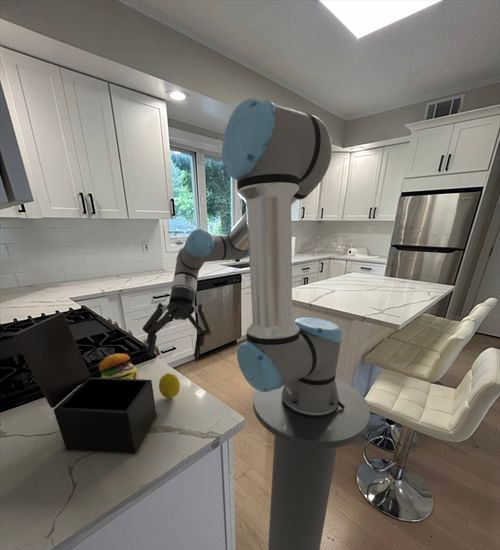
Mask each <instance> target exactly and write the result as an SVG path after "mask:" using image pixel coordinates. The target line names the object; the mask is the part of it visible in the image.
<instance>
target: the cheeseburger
mask: <svg viewBox="0 0 500 550" xmlns="http://www.w3.org/2000/svg"><path fill="white" fill-rule="evenodd" d="M130 359H131V357H130V356H129V355H128V354H127V353H113V354H110V355H107V356H105V357H104V358H102V360H101V361H100V362H99V363H98V371H99V372H100V375H101V378H117V379H137V373H138V369H137V367H136V366H135V365H134V364H132V361H129V360H130Z"/></svg>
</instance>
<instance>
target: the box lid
mask: <svg viewBox="0 0 500 550" xmlns="http://www.w3.org/2000/svg"><path fill="white" fill-rule="evenodd" d="M12 337H13V339H14V341H15V343H16V345H17V347H18V349H19V350H20V353H21V354H22V356H23V358H24V360H25V362H26V363H27V366H28V367H29V369H30V371H31V373H32V375H33V377H34V379H35V381H36V383H37V385H38V387H39V388H40V390H41V393H42V394H43V396H44V398H45V400H46V401H47V403H48V405H49V407H50V408H51V409H55V408H56V407H57V406H58V405H59V404H60V403H61V402H63V401H64V400H65V399H66V398H67V397H68V396H69V395H70V394H72V393H73V392H74V391H75V390H76V389H77V388H78V387H79V386H81V385H82V384H83V383H84V382H85V381H86V380H87V379H88V378H90V376H91V374H90V371H89V368H88V367H87V364H86V362H85V360H84V357H83V355H82V353H81V351H80V348H79V346H78V344H77V341H76V339H75V337H74V334H73V332H72V331H71V328H70V326H69V323H68V321H67V319H66V316H65V313H64V312H60V313H57V314H55V315H53V316H50V317H49V318H48V317H47V318H46V319H44V320H42V321H39V322H37V323H35V324H33V325H31V326H28V327H26V328H24V329H22V330H19V331H18V332H15V333H13V334H12Z"/></svg>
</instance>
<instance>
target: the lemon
mask: <svg viewBox="0 0 500 550" xmlns="http://www.w3.org/2000/svg"><path fill="white" fill-rule="evenodd" d="M180 388H181V385H180V380H179V378H178V377H177V376H176V374H174V373H171V372H167V373H165V374H163V375H162V376H161V377H160V379H159V383H158V390H159V392H160V394H161V395H162V396H163V397H164V398H166V399H173V398H174V397H176V396H177V395H179V392H180V390H181V389H180Z"/></svg>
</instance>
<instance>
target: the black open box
mask: <svg viewBox="0 0 500 550" xmlns="http://www.w3.org/2000/svg"><path fill="white" fill-rule="evenodd" d="M153 387H154V386H153V381H152V379H140V378H135V379H117V378H102V377H90V376H89V377H88V378H87V379H86V380H85V381H84V382H83V383H81V384H80V385H79V386H78V387H77V388H76V389H75V390H74V391H72V392H71V393H70V394H69V395H68V396H67V397H66V398H65V399H63V400H62V401H61V402H60V403H59V404H58V405H57V406H55V407H54V408H53V413H54V416H55V420H56V422H57V426H58V429H59V432H60V434H61V438H62V441H63V444H64V448H65V450H66V451H80V452H81V451H83V452H97V453H98V452H101V453H116V454H117V453H119V454H136V453H137V451H138V450H139V448H140V446H141V444H142V443H143V441H144V439H145V438H146V435H147V434H148V432H149V430H150V428H151V427H152V425H153V423H154V421H155V420H156V417H157V416H158V414H157V407H156V402H155V401H156V400H155V395H154V388H153Z"/></svg>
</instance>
